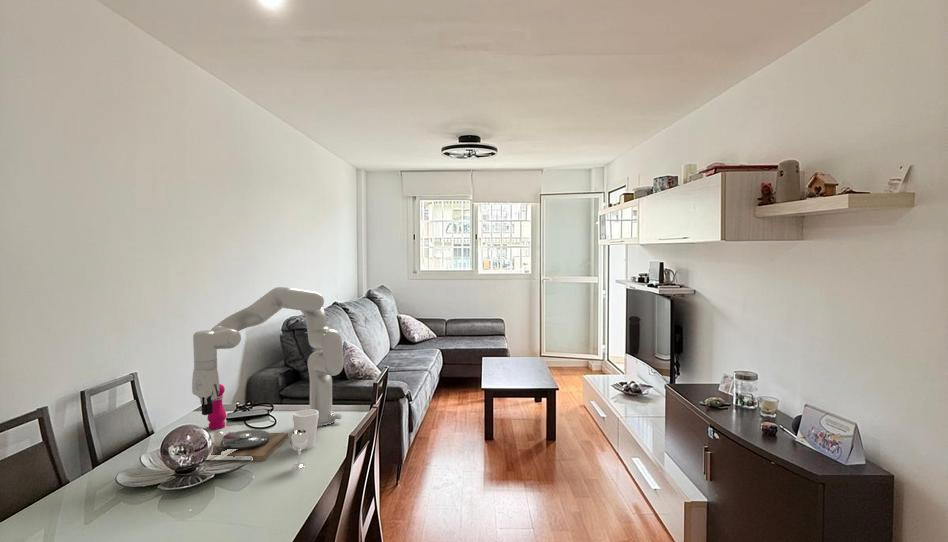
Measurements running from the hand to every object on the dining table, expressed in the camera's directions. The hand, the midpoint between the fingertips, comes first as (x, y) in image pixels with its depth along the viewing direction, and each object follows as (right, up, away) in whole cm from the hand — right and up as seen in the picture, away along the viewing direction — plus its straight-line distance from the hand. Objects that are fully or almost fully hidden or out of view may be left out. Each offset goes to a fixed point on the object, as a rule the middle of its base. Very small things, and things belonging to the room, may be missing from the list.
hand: (207, 413), depth 188 cm
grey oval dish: (+10, -12, +4) cm, 16 cm away
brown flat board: (+11, -15, +6) cm, 20 cm away
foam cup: (+33, -15, +9) cm, 38 cm away
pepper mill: (-12, -14, +30) cm, 36 cm away
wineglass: (+37, -16, -10) cm, 41 cm away
